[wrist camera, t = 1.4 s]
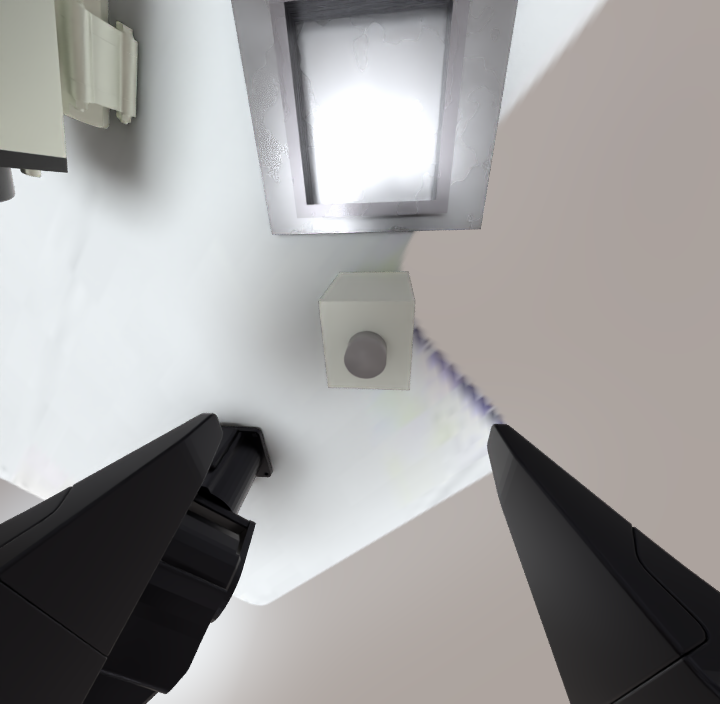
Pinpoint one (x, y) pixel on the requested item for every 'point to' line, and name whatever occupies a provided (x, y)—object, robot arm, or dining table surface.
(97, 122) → the pneumatic valve
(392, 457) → the dining table surface
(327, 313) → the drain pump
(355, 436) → the dining table surface
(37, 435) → the dining table surface
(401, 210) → the motor mount
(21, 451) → the dining table surface
